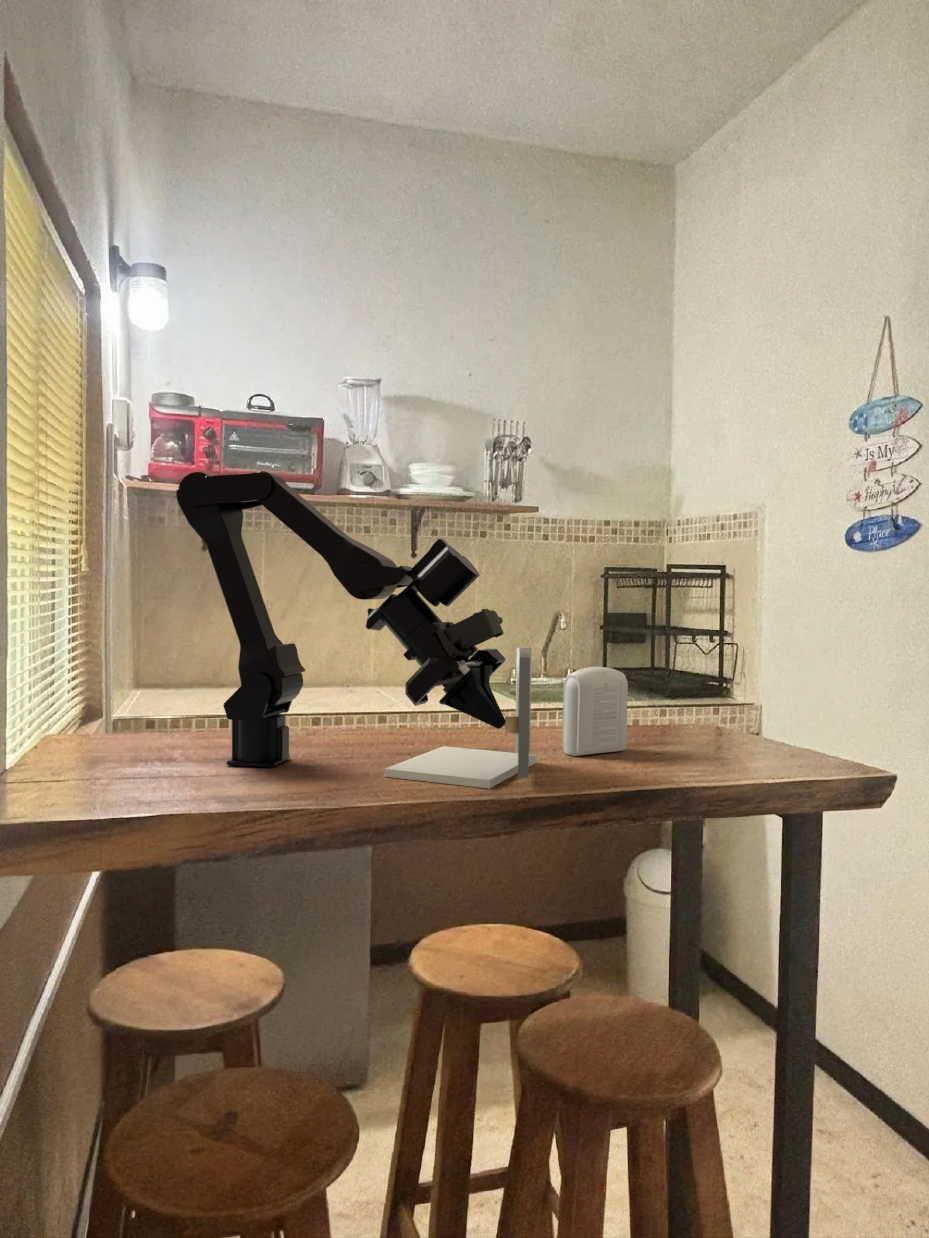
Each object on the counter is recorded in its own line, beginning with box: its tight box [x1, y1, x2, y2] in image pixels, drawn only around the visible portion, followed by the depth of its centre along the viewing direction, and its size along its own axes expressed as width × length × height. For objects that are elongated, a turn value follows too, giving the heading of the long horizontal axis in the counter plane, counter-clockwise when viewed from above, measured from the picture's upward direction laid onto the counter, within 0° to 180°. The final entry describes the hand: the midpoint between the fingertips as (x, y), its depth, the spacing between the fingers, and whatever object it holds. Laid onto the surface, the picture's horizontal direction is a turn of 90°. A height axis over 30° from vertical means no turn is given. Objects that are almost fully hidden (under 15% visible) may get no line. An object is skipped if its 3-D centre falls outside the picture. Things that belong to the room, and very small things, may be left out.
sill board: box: [384, 745, 538, 789], centre depth 110 cm, size 14×17×1 cm
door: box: [504, 647, 532, 779], centre depth 107 cm, size 3×17×14 cm, turn 176°
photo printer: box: [561, 666, 629, 757], centre depth 123 cm, size 10×4×12 cm, turn 123°
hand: (502, 726), depth 103 cm, fingers closed
